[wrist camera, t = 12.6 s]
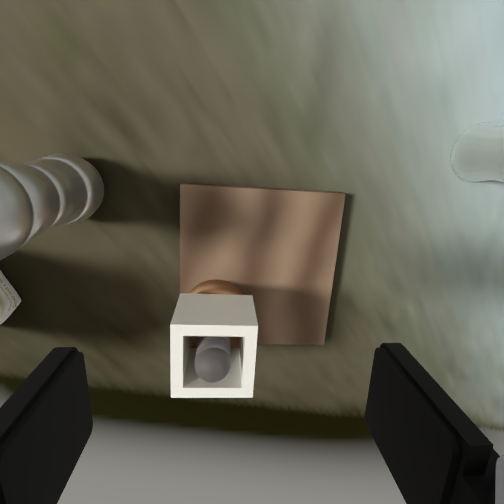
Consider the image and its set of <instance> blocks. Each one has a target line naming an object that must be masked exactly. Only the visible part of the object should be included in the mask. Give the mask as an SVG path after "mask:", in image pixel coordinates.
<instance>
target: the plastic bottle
mask: <svg viewBox="0 0 504 504" xmlns="http://www.w3.org/2000/svg"><path fill="white" fill-rule="evenodd" d="M103 197H104V184H103V180H102V178H101V176H100V174H99V172H98V171H97V170H96V168H95V167H94V166H93V165H92V164H90V163H89V162H87V161H86V160H84V159H82V158H79V157H76V156H74V155H70V154H64V153H61V154H52V155H48V156H45V157H42V158H40V159H38V160H35V161H32V162H27V163H3V162H0V260H2V259H4V258H6V257H7V256H9V255H11V254H13V253H14V252H15V251H17V250H18V249H20V248H21V247H22V246H23V245H25V244H26V243H27V242H28V241H30V240H31V239H32V238H34V237H35V236H36V235H38V234H40V233H42V232H44V231H45V230H47V229H49V228H52V227H56V226H59V225H69V224H74V223H79V222H82V221H84V220H86V219H88V218H89V217H90V216H92V215H93V213H94V212H95V211H96V210H97V209H98V208H99V206H100V205H101V203H102V200H103Z"/></svg>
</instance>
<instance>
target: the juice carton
mask: <svg viewBox="0 0 504 504" xmlns="http://www.w3.org/2000/svg"><path fill="white" fill-rule="evenodd" d="M21 301H22V300H21V298H20V297H19V295H18V294H17V292H16V291H15V289H14V288H13V286H12V285H11V284H10V282H9V281H8V280H7V279H6V277H5V276H4V275H3V273H2V271H1V270H0V325H1V324H2V323H3V322H4V321H5V320H6V319H7V318H8V317H9V316H10V315H11V314H12V312H13V311H14V310H15V309H16V308H17V306H18V305H19V304H20V302H21Z"/></svg>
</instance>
